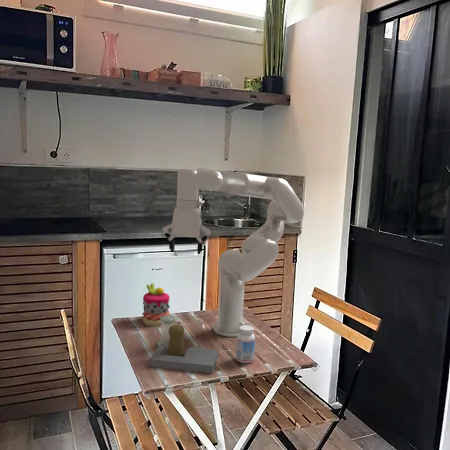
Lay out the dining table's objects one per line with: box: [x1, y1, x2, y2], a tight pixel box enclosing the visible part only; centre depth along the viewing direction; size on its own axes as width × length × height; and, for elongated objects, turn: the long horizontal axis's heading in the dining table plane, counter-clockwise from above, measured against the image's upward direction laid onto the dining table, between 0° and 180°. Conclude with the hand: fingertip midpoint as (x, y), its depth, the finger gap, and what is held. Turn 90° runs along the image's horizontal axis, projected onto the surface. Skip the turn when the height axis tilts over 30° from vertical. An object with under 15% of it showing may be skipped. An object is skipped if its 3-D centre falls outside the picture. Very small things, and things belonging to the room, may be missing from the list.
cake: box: [141, 282, 170, 327], centre depth 182 cm, size 10×11×15 cm
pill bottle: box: [235, 325, 256, 364], centre depth 152 cm, size 6×6×11 cm
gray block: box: [149, 344, 219, 374], centre depth 149 cm, size 20×12×2 cm, turn 83°
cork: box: [166, 324, 185, 357], centre depth 151 cm, size 6×6×11 cm
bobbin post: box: [157, 314, 176, 350], centre depth 160 cm, size 6×6×10 cm
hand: (185, 252), depth 163 cm, fingers open, 9 cm apart
